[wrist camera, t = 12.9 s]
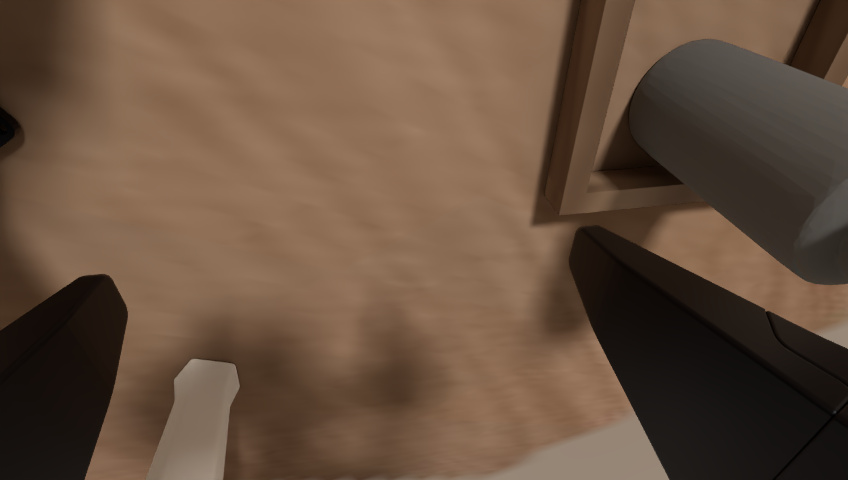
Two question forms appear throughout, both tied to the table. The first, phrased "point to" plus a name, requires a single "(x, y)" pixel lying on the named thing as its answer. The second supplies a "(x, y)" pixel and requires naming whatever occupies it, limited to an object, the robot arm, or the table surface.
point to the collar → (590, 94)
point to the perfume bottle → (197, 423)
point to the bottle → (754, 148)
